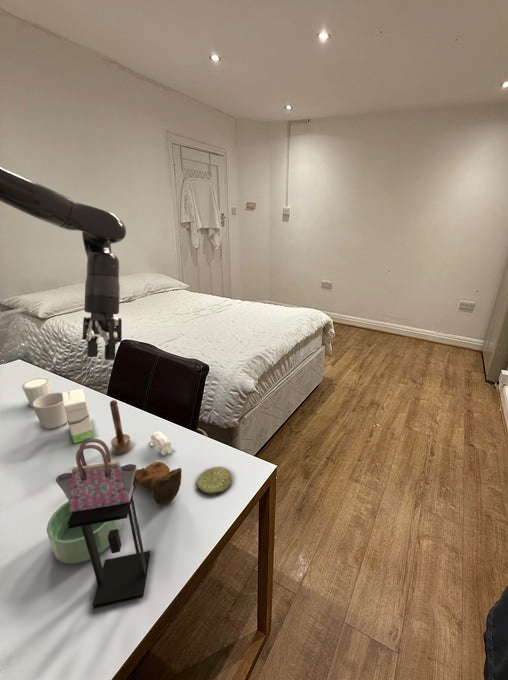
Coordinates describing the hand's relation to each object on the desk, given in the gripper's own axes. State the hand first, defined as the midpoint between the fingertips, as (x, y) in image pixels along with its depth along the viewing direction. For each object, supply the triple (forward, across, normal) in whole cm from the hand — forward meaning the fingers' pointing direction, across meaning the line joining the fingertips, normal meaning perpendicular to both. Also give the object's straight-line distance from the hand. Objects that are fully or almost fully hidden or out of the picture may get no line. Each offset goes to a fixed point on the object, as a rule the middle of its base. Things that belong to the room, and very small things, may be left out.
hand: (100, 358), depth 82 cm
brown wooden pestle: (+24, +2, +5) cm, 25 cm away
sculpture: (+29, +21, +3) cm, 36 cm away
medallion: (+28, +30, +12) cm, 43 cm away
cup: (+20, -24, 0) cm, 32 cm away
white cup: (+17, -38, +1) cm, 41 cm away
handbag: (+36, +32, -11) cm, 49 cm away
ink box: (+22, -13, +2) cm, 26 cm away
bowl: (+33, +19, -11) cm, 40 cm away
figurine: (+24, +10, +11) cm, 28 cm away
